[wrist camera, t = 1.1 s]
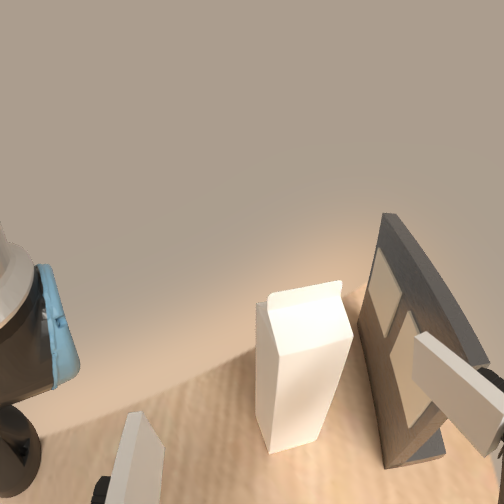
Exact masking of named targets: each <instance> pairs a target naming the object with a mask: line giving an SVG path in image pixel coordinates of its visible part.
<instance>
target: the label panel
mask: <svg viewBox="0 0 504 504" xmlns="http://www.w3.org/2000/svg"><path fill="white" fill-rule="evenodd" d="M357 326H358V330H359V334H360V339H361V343H362V347H363V352H364V356H365V361H366V365H367V370H368V375H369V379H370V384H371V389H372V395H373V400H374V405H375V411H376V416H377V422H378V428H379V434H380V440H381V447H382V454H383V461H384V469H390V468H396V467H402V466H408V465H413V464H418V463H422V462H427V461H431V460H435V459H439V458H442V457H443V456H444V455H445V454H446V451H445V446H444V442H443V439H442V435H441V431H440V426H441V425H442V424H443V423H444V422H445V421H446V420H447V419H448V417H447V416H446V415H445V414H444V413H443V412H442V411H441V410H440V409H439V408H438V407H437V406H436V404H435V403H434V402H433V401H432V400H431V399H430V398H429V397H428V396H427V395H426V394H425V393H424V392H423V391H422V389H421V388H420V387H419V386H418V385H417V384H416V383H415V382H414V381H413V380H412V379H411V378H412V366H413V351H414V336H416V335H419V334H421V333H423V332H425V331H427V332H428V333H429V334H431V335H432V336H433V337H435V338H436V339H437V340H438V341H440V342H441V343H442V344H444V345H445V346H446V347H447V348H449V349H450V350H451V351H452V352H454V353H455V354H456V355H457V356H459V357H460V358H461V359H463V360H464V361H465V362H466V363H468V364H469V365H470V366H471V367H472V368H474V369H475V370H478V369H479V368H481V367H483V368H486V369H487V367H488V366H489V364H490V361H489V360H488V358H487V356H486V354H485V351H484V350H483V348H482V346H481V344H480V342H479V340H478V338H477V336H476V334H475V333H474V331H473V329H472V327H471V325H470V324H469V322H468V320H467V318H466V317H465V315H464V313H463V312H462V310H461V308H460V306H459V305H458V303H457V302H456V300H455V298H454V297H453V295H452V293H451V292H450V290H449V289H448V287H447V285H446V284H445V282H444V281H443V279H442V278H441V276H440V275H439V273H438V272H437V270H436V269H435V267H434V266H433V264H432V263H431V261H430V260H429V258H428V257H427V255H426V254H425V252H424V251H423V250H422V248H421V247H420V246H419V244H418V243H417V241H416V240H415V239H414V237H413V236H412V235H411V233H410V232H409V230H408V229H407V228H406V226H405V225H404V224H403V222H402V221H401V220H400V219H399V217H398V216H397V215H396V214H391V213H383V214H382V220H381V225H380V230H379V235H378V241H377V245H376V250H375V254H374V259H373V263H372V268H371V272H370V276H369V280H368V285H367V289H366V292H365V296H364V300H363V304H362V308H361V311H360V315H359V319H358V322H357Z"/></svg>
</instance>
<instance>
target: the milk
mask: <svg viewBox="0 0 504 504" xmlns="http://www.w3.org/2000/svg"><path fill="white" fill-rule="evenodd" d="M341 290H342V281H341V280H336V281H332V282H327V283H322V284H317V285H311V286H306V287H301V288H296V289H291V290H285V291H280V292H275V293H271V294H270V295H269V296H268V298H267V301H266V302H261V303H256V382H255V416H256V419H257V422H258V425H259V428H260V430H261V433H262V436H263V439H264V442H265V445H266V447H267V450H268V453H269V454H272V453H276V452H280V451H283V450H287V449H290V448H294V447H297V446H300V445H304V444H307V443H310V442H313V441H316V440H317V437H318V435H319V433H320V430H321V428H322V425H323V423H324V420H325V418H326V415H327V412H328V410H329V407H330V405H331V402H332V399H333V397H334V394H335V391H336V388H337V385H338V383H339V380H340V377H341V374H342V371H343V368H344V365H345V362H346V359H347V356H348V353H349V349H350V346H351V343H352V340H353V332H352V329H351V326H350V323H349V320H348V317H347V314H346V311H345V308H344V305H343V302H342V299H341V296H340V295H341Z"/></svg>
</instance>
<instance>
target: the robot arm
mask: <svg viewBox="0 0 504 504" xmlns="http://www.w3.org/2000/svg"><path fill="white" fill-rule="evenodd" d="M79 370H80V360H79V357H78V354H77V351H76V348H75V345H74V342H73V339H72V336H71V333H70V330H69V327H68V324H67V321H66V318H65V314H64V311H63V307H62V304H61V300H60V296H59V293H58V289H57V285H56V282H55V278H54V274H53V270H52V268H51V266H50V265H49V264H37V265H36V266H34V264H33V261H32V259H31V257H30V255H29V254H28V252H27V251H26V250H25V249H24V248H23V247H21V246H19V245H17V244H14V243H10V242H7V239H6V237H5V234H4V231H3V228H2V225H1V223H0V497H1V498H8V497H13V496H16V495H18V494H20V493H21V492H23V491H24V490H25V489H26V488H28V486H29V485H30V484H31V483H32V481H33V480H34V478H35V476H36V474H37V471H38V468H39V464H40V456H41V448H40V441H39V437H38V434H37V433H36V430H35V428H34V426H33V425H32V423H31V422H30V421H29V420H28V419H27V418H26V417H25V416H24V414H23V413H22V412H21V411H19V410H18V409H17V408H16V407H14V406H12V404H14V403H17V402H20V401H22V400H25V399H28V398H30V397H33V396H36V395H38V394H41V393H44V392H46V391H49V390H54V389H56V388H57V386H58V385H60V384H62V383H64V382H67V381H69V380H71V379H72V378H74V377H75V376H76V375H77V374H78V372H79ZM411 379H412V380H413V381H414V382H415V383H416V384H417V385H418V386H419V387H420V388H421V389H422V391H423V392H424V393H425V394H426V395H427V396H428V397H429V398H430V399H431V400H432V401H433V402H434V403H435V404H436V406H437V407H438V408H439V409H440V410H441V411H442V412H443V413H444V414H445V415H446V416H447V417H448V419H449V420H450V421H451V422H452V423H453V424H454V425H455V426H456V427H457V428H458V430H459V431H460V432H461V433H462V434H463V435H464V436H465V437H466V438H467V439H468V441H469V442H470V443H471V444H472V445H473V446H474V447H475V448H476V450H477V451H478V452H479V453H480V454H481V455H482V456H483V457H484V458H485V457H486V456H487V455H489V454H490V453H491V452H492V451H494V450H495V449H496V448H497V446H498V444H499V443H500V441H501V440H502V441H503V442H504V380H503V379H502V378H501V377H500V378H499V376H498V375H497V374H496V373H494V372H493V371H492V370H489V369H486V368H483V367H481V368H479V369H478V370H475V369H474V368H472V367H471V366H470V365H469V364H468V363H466V362H465V361H464V360H463V359H461V358H460V357H459V356H457V355H456V354H455V353H454V352H452V351H451V350H450V349H449V348H447V347H446V346H445V345H444V344H442V343H441V342H440V341H438V340H437V339H436V338H435V337H433V336H432V335H431V334H429V333H428V332H427V331H425V332H423V333H421V334H419V335H416V336H414V351H413V366H412V378H411ZM502 453H503V458H502V473H501V484H500V492H499V500H498V504H504V445H503V447H502V449H501V451H500V453H499V455H498V458H500V457H501V455H502ZM164 454H165V447H164V445H163V444H162V442H161V441H160V439H159V437H158V436H157V434H156V433H155V431H154V429H153V428H152V426H151V424H150V423H149V421H148V419H147V418H146V416H145V414H144V412H143V411H139V412H130V413H128V415H127V419H126V422H125V426H124V429H123V433H122V437H121V440H120V444H119V448H118V451H117V455H116V459H115V463H114V467H113V471H112V475H111V476H102V477H101V478H100V479H99V481H98V482H97V483H96V485H95V489H94V492H93V496H92V500H91V504H160V493H161V482H162V472H163V463H164Z"/></svg>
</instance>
